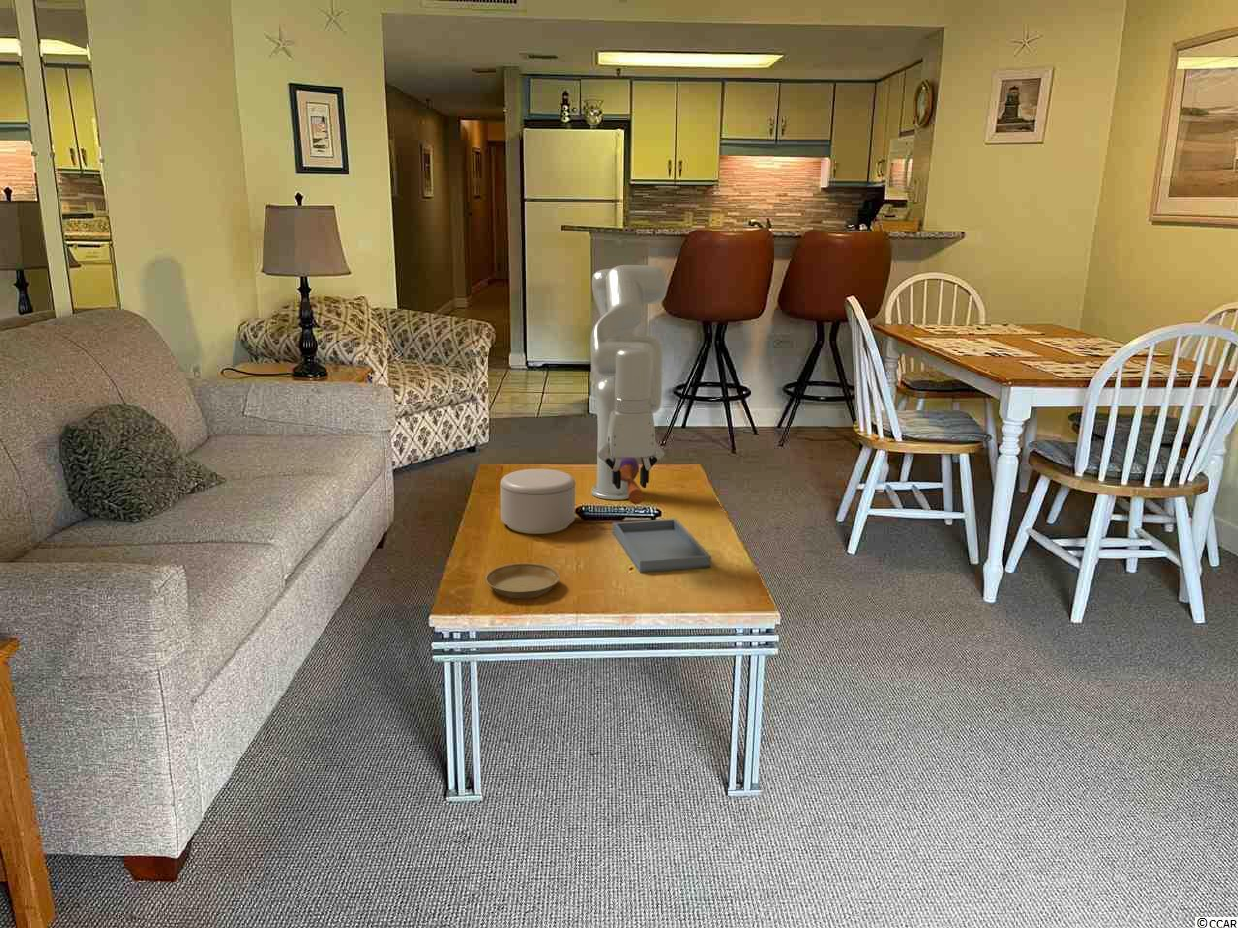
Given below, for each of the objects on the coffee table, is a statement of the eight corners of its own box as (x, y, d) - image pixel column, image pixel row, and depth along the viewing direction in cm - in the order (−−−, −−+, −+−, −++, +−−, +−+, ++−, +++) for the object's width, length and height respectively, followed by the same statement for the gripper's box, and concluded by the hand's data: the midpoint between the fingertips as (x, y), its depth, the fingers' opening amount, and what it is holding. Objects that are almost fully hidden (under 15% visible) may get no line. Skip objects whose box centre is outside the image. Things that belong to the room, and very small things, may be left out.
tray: (612, 533, 219) (612, 522, 218) (675, 529, 223) (676, 518, 222) (639, 572, 195) (640, 561, 194) (710, 567, 199) (710, 556, 198)
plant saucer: (508, 609, 176) (508, 597, 176) (472, 584, 188) (472, 572, 187) (573, 592, 185) (573, 580, 184) (535, 569, 196) (535, 558, 196)
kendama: (620, 486, 192) (609, 454, 211) (624, 512, 194) (613, 477, 213) (648, 481, 193) (634, 449, 211) (652, 506, 195) (638, 472, 213)
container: (490, 517, 229) (489, 471, 226) (557, 508, 237) (557, 464, 234) (516, 540, 213) (516, 491, 210) (587, 529, 221) (587, 482, 218)
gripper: (666, 401, 204) (663, 480, 209) (590, 403, 200) (589, 483, 205) (675, 408, 197) (672, 490, 202) (596, 410, 193) (595, 493, 198)
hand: (630, 485), depth 203 cm, fingers closed on kendama, 5 cm apart
